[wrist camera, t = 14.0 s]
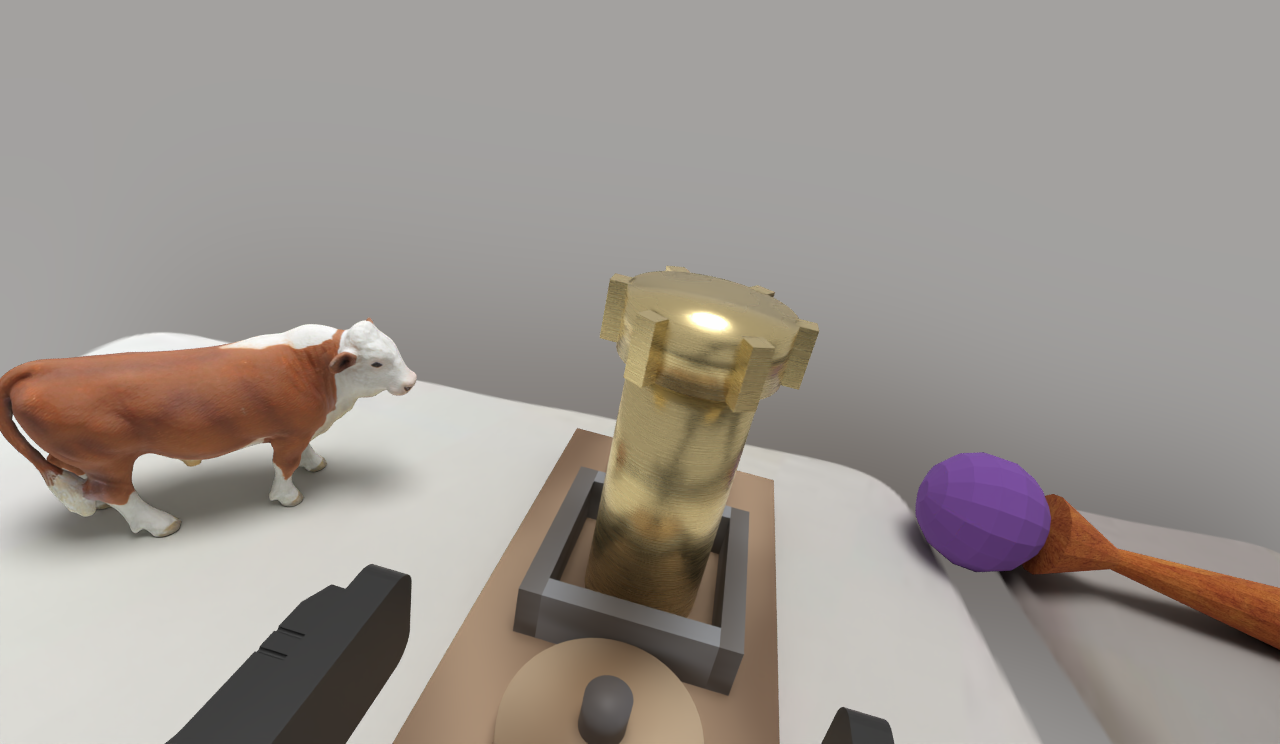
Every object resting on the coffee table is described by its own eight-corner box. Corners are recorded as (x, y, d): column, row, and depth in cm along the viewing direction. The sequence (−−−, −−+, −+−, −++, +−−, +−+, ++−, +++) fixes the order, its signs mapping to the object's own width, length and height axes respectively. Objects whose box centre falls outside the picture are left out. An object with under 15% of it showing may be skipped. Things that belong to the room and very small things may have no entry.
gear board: (765, 502, 33) (785, 446, 32) (766, 972, 15) (811, 895, 14) (573, 450, 34) (583, 393, 33) (359, 833, 16) (358, 746, 15)
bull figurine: (418, 498, 28) (424, 339, 25) (21, 568, 21) (-47, 360, 18) (399, 447, 32) (402, 300, 28) (49, 492, 25) (-5, 304, 21)
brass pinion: (725, 557, 26) (812, 298, 21) (714, 674, 21) (826, 365, 16) (582, 516, 27) (632, 254, 22) (535, 619, 22) (586, 305, 16)
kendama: (1432, 659, 26) (961, 493, 27) (1309, 721, 29) (899, 570, 31) (1340, 550, 30) (944, 414, 32) (1244, 614, 34) (892, 489, 36)
